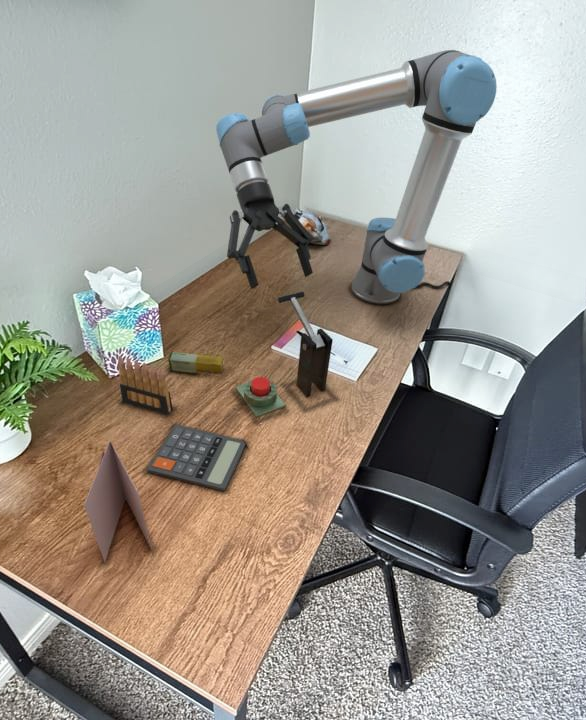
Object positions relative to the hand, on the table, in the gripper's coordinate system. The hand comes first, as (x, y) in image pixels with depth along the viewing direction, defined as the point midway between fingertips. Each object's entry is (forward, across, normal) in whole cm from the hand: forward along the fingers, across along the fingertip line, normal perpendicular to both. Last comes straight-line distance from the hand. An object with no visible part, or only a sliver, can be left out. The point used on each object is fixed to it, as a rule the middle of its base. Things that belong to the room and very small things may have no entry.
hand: (282, 280), depth 101 cm
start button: (+21, +11, -4) cm, 24 cm away
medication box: (+13, +19, -18) cm, 29 cm away
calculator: (+29, +29, -1) cm, 41 cm away
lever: (+11, 0, +2) cm, 11 cm away
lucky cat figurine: (-23, -44, -53) cm, 73 cm away
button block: (+24, +11, -7) cm, 27 cm away
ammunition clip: (+17, +33, -14) cm, 39 cm away
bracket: (+25, 0, -5) cm, 26 cm away
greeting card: (+36, +43, +5) cm, 56 cm away
